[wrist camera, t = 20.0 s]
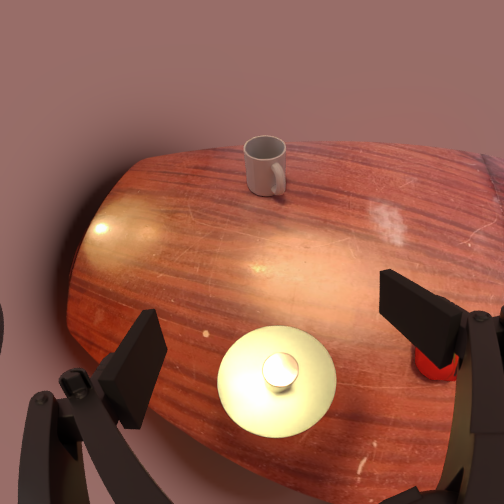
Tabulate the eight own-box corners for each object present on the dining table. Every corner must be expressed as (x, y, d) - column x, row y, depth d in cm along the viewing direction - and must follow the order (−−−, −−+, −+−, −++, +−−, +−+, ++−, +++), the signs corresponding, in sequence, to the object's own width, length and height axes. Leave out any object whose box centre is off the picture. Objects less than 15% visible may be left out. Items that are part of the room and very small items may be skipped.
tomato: (464, 331, 34) (487, 317, 29) (446, 393, 30) (470, 387, 24) (422, 307, 38) (441, 290, 32) (398, 370, 33) (419, 361, 28)
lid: (197, 399, 26) (164, 392, 18) (257, 309, 32) (251, 266, 23) (297, 455, 23) (311, 477, 14) (352, 358, 28) (387, 333, 19)
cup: (273, 167, 55) (273, 131, 48) (299, 198, 50) (303, 161, 43) (241, 179, 54) (236, 142, 46) (264, 213, 49) (263, 175, 42)
